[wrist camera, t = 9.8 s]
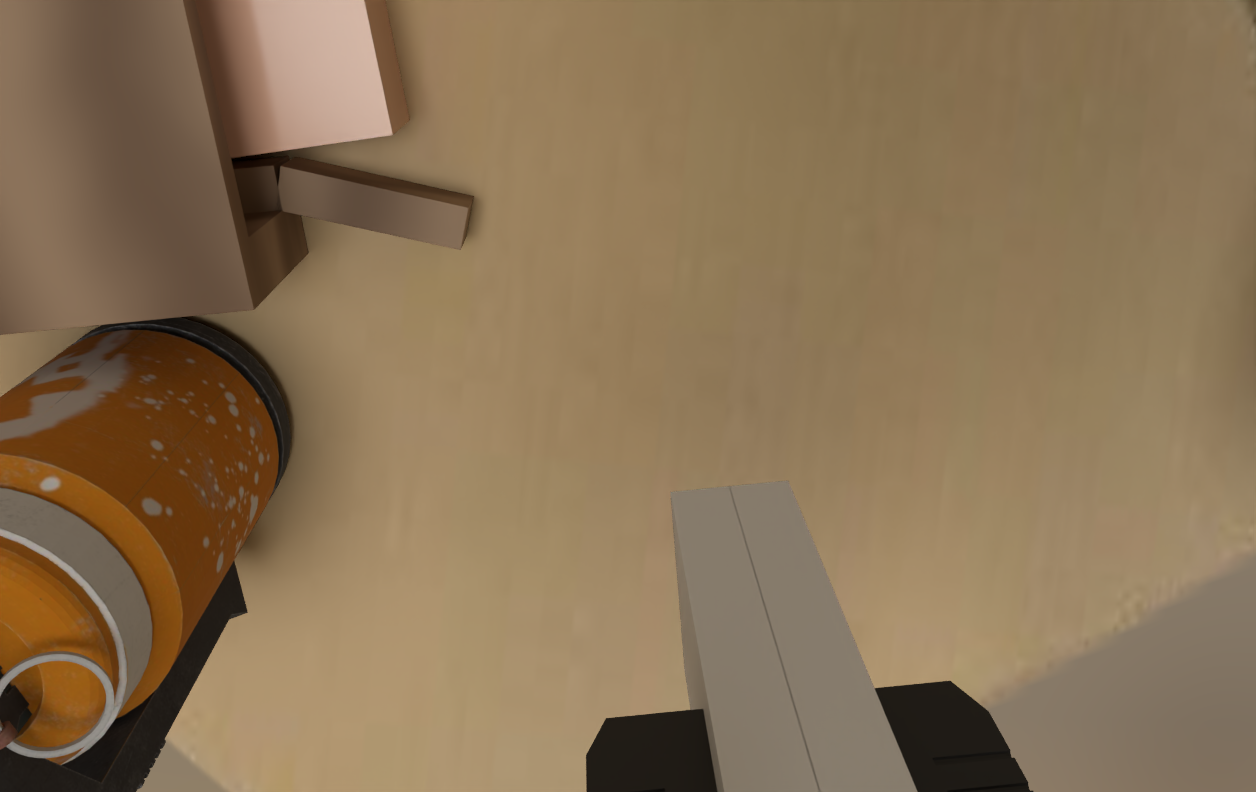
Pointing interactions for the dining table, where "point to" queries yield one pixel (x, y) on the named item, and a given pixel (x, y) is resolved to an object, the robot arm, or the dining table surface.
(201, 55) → the shelf
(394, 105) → the pink foam brick
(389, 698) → the dining table surface
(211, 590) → the canister
